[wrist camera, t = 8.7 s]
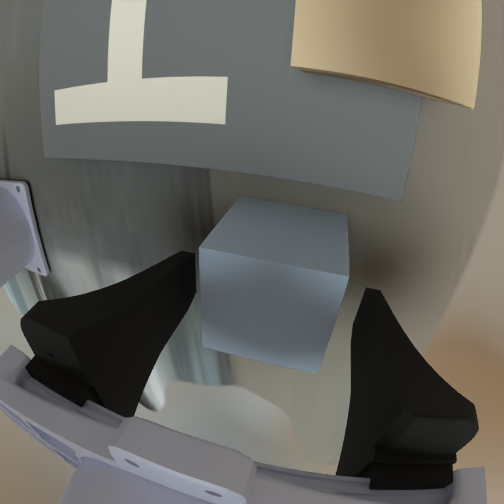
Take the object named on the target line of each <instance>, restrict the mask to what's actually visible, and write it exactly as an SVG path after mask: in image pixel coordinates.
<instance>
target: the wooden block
mask: <svg viewBox="0 0 504 504" xmlns="http://www.w3.org/2000/svg"><path fill="white" fill-rule="evenodd" d="M481 30H482V0H296V4H295V17H294V30H293V42H292V54H291V65H290V66H292V67H294V68H296V69H298V70H300V71H302V72H304V73H310V74H318V75H324V76H331V77H337V78H343V79H349V80H354V81H359V82H364V83H369V84H374V85H378V86H383V87H387V88H391V89H395V90H399V91H403V92H407V93H410V94H414V95H418V96H421V97H424V98H428V99H431V100H435V101H441V102H446V103H450V104H455V105H459V106H464V107H468V108H472V109H474V106H475V99H476V92H477V84H478V75H479V64H480V51H481Z"/></svg>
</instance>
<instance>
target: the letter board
mask: <svg viewBox="0 0 504 504" xmlns="http://www.w3.org/2000/svg"><path fill="white" fill-rule="evenodd" d="M295 4H296V0H44V4H43V13H42V23H41V36H40V57H39V93H40V115H41V129H42V140H43V149H44V158H67V159H96V160H115V161H131V162H145V163H157V164H169V165H179V166H189V167H199V168H208V169H216V170H224V171H232V172H240V173H247V174H255V175H262V176H268V177H275V178H281V179H288V180H294V181H300V182H306V183H311V184H317V185H323V186H328V187H333V188H339V189H344V190H349V191H354V192H359V193H364V194H368V195H373V196H378V197H382V198H387V199H391V200H396V201H400V202H401V199H402V195H403V191H404V187H405V183H406V179H407V175H408V170H409V166H410V161H411V156H412V152H413V147H414V142H415V136H416V131H417V126H418V120H419V114H420V108H421V101H422V97H421V96H418V95H414V94H410V93H407V92H403V91H399V90H395V89H391V88H387V87H383V86H378V85H374V84H369V83H364V82H359V81H354V80H349V79H343V78H337V77H331V76H324V75H318V74H310V73H304V72H302V71H300V70H298V69H296V68H294V67H292V66H290V65H291V54H292V42H293V30H294V17H295Z"/></svg>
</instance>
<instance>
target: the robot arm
mask: <svg viewBox="0 0 504 504" xmlns="http://www.w3.org/2000/svg"><path fill="white" fill-rule="evenodd" d="M23 268H25V269H28V270H30V271H33V272H35V273H38V274H40V275H43V276H47V275H48V274H49V268H48V265H47V262H46V258H45V255H44V251H43V248H42V244H41V240H40V237H39V233H38V229H37V225H36V220H35V216H34V212H33V207H32V202H31V197H30V192H29V187H28V185H27V183H26V182H24V181H13V180H0V288H1V287H2V286H3V285H4V284H5V283H6V282H7V281H9V280H10V279H11V278H12V277H13V276H14V275H16V274H17V273H18V272H19V271H20V270H22V269H23ZM195 293H196V270H195V253H190V252H185V251H181V252H178V253H176V254H174V255H172V256H171V257H169V258H167V259H165V260H163V261H161V262H159V263H158V264H156V265H154V266H152V267H150V268H148V269H146V270H144V271H142V272H140V273H138V274H136V275H134V276H132V277H130V278H128V279H126V280H123V281H121V282H119V283H116V284H113V285H111V286H108V287H105V288H102V289H99V290H95V291H92V292H89V293H85V294H81V295H77V296H72V297H67V298H61V299H53V300H44V301H38V302H37V303H36V304H35V305H34V306H33V307H32V308H31V309H30V310H29V311H28V312H27V313H26V314H25V315H24V316H23V317H22V318H21V322H20V323H21V329H22V332H23V334H24V336H25V338H26V339H27V342H28V343H29V345H30V347H31V349H32V351H33V353H34V354H35V356H34V357H33V359H32V360H31V359H30V358H29V357H28V356H26V355H25V354H24V353H23V352H21V351H20V350H18V349H17V348H15V347H14V346H12V345H11V346H9V348H8V349H7V350H6V351H5V352H4V353H3V354H2V356H0V409H1V410H2V411H3V412H4V413H5V414H6V415H7V416H8V417H9V418H10V419H11V420H12V421H13V422H15V423H16V424H17V425H18V426H20V427H21V428H22V429H23V430H25V431H26V432H27V433H28V434H29V435H31V436H32V437H33V438H35V439H36V440H37V441H38V442H40V443H41V444H42V445H44V446H45V447H46V448H48V449H49V450H50V451H52V452H53V453H54V454H56V455H57V456H59V457H60V458H62V459H63V460H64V461H66V462H67V463H69V464H70V465H72V466H73V467H75V468H76V469H77V470H76V472H75V473H74V475H73V477H72V478H71V480H70V482H69V483H68V485H67V487H66V489H65V490H64V492H63V494H62V496H61V497H60V499H59V501H58V503H57V504H487V500H486V499H487V498H486V480H485V469H484V467H473V468H463V469H458V470H456V471H453V465H452V464H454V463H456V461H457V458H456V452H457V451H459V450H460V449H461V448H463V447H464V446H465V445H466V444H467V443H468V442H470V441H471V440H472V439H473V438H474V437H475V435H476V433H477V432H478V429H479V427H478V419H477V414H476V409H475V405H474V404H473V403H472V402H470V401H469V400H468V399H466V398H465V397H464V396H462V395H461V394H460V393H458V392H457V391H456V390H455V389H454V388H452V387H451V386H450V385H449V384H448V383H447V382H446V381H444V379H443V378H442V377H440V376H439V375H438V373H437V372H436V371H434V369H433V368H432V367H431V366H430V365H429V364H428V363H427V362H426V360H425V359H424V358H423V357H422V356H421V354H420V353H419V352H418V350H417V349H416V348H415V347H414V345H413V344H412V343H411V341H410V340H409V338H408V337H407V335H406V334H405V332H404V331H403V329H402V327H401V326H400V324H399V323H398V321H397V319H396V318H395V316H394V314H393V312H392V311H391V309H390V307H389V305H388V303H387V302H386V300H385V298H384V296H383V295H382V293H381V291H380V290H376V289H371V288H366V289H365V292H364V295H363V298H362V301H361V303H360V306H359V309H358V312H357V315H356V317H355V320H354V323H353V328H352V337H351V396H350V406H349V413H348V419H347V425H346V431H345V437H344V441H343V446H342V451H341V455H340V460H339V464H338V468H337V472H336V475H328V474H321V473H313V472H307V471H300V470H295V469H289V468H284V467H278V466H273V465H269V464H264V463H259V462H255V461H253V460H252V459H251V458H249V457H248V456H246V455H244V454H242V453H241V452H239V451H236V450H233V449H231V448H228V447H225V446H222V445H219V444H216V443H212V442H209V441H205V440H202V439H199V438H196V437H193V436H190V435H187V434H184V433H181V432H178V431H176V430H173V429H170V428H167V427H165V426H162V425H159V424H157V423H154V422H152V421H149V420H146V419H142V418H139V417H134V414H135V411H136V408H137V406H138V403H139V400H140V398H141V395H142V393H143V390H144V388H145V385H146V383H147V381H148V378H149V376H150V374H151V372H152V369H153V367H154V365H155V363H156V361H157V359H158V357H159V355H160V353H161V351H162V350H163V348H164V346H165V345H166V343H167V342H168V340H169V338H170V337H171V335H172V334H173V332H174V331H175V329H176V328H177V326H178V325H179V323H180V322H181V320H182V318H183V317H184V315H185V314H186V312H187V311H188V309H189V307H190V304H191V302H192V300H193V298H194V296H195Z"/></svg>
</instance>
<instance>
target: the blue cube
mask: <svg viewBox="0 0 504 504" xmlns="http://www.w3.org/2000/svg"><path fill="white" fill-rule="evenodd" d="M199 272H200V302H201V325H202V343H203V347H205V348H209V349H213V350H217V351H220V352H224V353H228V354H232V355H236V356H240V357H244V358H248V359H252V360H257V361H261V362H265V363H270V364H274V365H279V366H284V367H288V368H293V369H298V370H303V371H308V372H314V373H318V370H319V367H320V365H321V362H322V359H323V356H324V354H325V351H326V348H327V345H328V342H329V339H330V337H331V334H332V331H333V328H334V325H335V322H336V319H337V316H338V312H339V309H340V306H341V303H342V300H343V297H344V293H345V290H346V287H347V283H348V280H349V241H348V219H347V215H344V214H339V213H334V212H329V211H323V210H318V209H313V208H307V207H302V206H296V205H291V204H285V203H279V202H273V201H267V200H261V199H255V198H249V197H242V196H240V197H239V198H238V199H237V200H236V202H235V203H234V204H233V205H232V207H231V208H230V209H229V210H228V211H227V213H226V214H225V215H224V216H223V218H222V219H221V220H220V221H219V223H218V224H217V225H216V226H215V228H214V229H213V230H212V231H211V233H210V234H209V235H208V236H207V238H206V239H205V240H204V241H203V243H202V244H201V245H200V246H199Z"/></svg>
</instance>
